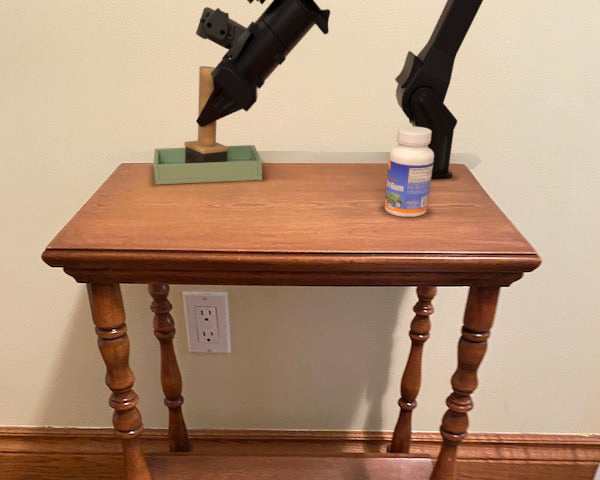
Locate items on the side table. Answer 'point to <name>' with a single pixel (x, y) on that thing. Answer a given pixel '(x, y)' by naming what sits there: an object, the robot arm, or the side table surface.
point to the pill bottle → (409, 173)
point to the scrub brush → (205, 128)
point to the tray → (207, 166)
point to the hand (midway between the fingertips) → (200, 122)
